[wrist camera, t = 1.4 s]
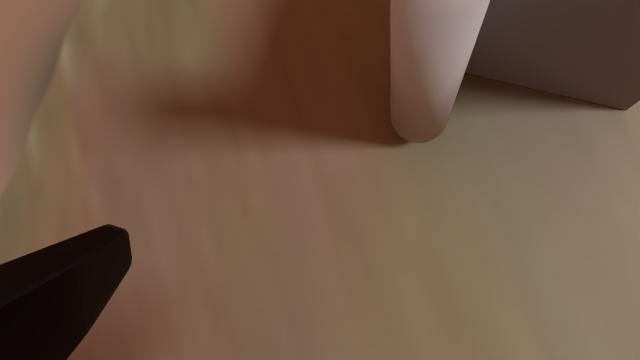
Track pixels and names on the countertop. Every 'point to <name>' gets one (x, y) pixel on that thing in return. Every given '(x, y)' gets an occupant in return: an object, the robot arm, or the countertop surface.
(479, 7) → the side door
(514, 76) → the grey box
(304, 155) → the countertop surface
